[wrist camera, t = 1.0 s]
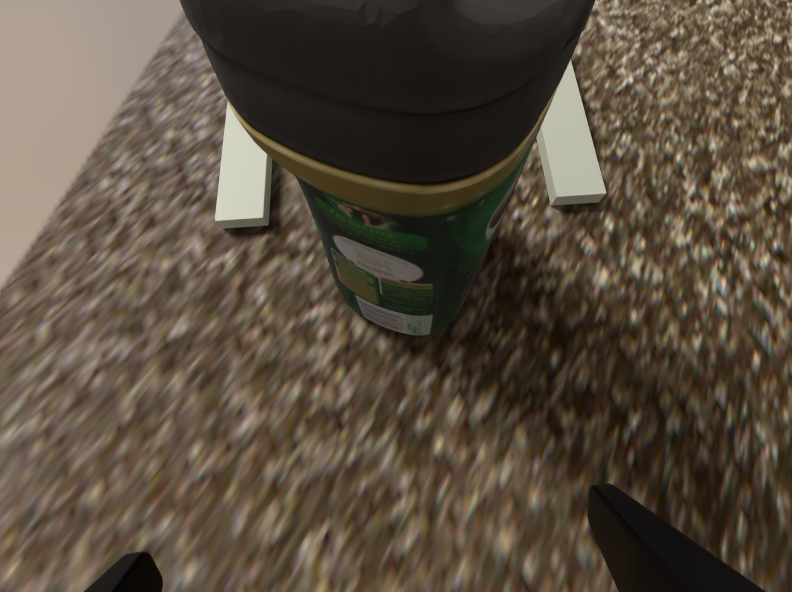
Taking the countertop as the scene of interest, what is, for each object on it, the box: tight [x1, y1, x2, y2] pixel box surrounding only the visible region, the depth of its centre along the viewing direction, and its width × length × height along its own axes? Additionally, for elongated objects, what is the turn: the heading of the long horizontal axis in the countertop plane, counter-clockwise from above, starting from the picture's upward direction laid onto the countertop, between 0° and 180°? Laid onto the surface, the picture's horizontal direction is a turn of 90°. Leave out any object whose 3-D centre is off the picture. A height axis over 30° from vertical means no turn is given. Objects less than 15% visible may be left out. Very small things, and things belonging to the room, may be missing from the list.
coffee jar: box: [180, 0, 595, 336], centre depth 14 cm, size 10×8×19 cm
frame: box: [215, 60, 606, 229], centre depth 27 cm, size 19×24×1 cm
